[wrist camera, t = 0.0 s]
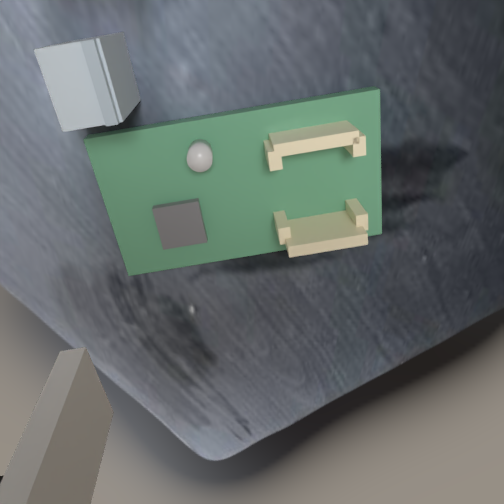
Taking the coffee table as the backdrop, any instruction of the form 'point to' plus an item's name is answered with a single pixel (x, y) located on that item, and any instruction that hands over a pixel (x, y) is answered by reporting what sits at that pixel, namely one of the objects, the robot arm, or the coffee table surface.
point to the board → (244, 181)
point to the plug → (89, 81)
